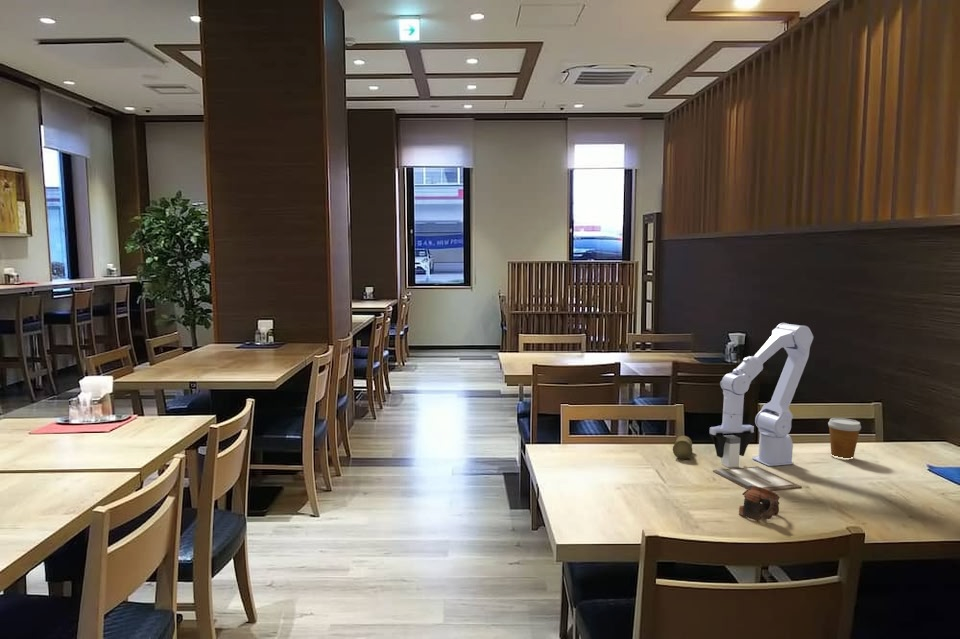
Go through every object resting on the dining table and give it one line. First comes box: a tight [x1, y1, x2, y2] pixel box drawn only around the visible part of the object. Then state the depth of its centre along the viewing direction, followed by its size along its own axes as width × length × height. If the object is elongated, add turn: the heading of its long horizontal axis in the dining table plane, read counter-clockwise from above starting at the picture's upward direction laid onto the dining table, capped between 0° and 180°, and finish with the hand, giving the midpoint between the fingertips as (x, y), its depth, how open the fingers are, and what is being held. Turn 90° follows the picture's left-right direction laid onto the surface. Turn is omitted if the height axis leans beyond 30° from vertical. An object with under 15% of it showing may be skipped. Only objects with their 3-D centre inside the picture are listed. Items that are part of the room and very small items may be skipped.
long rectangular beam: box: [720, 434, 741, 469], centre depth 203 cm, size 4×4×9 cm
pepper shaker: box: [672, 435, 693, 461], centre depth 213 cm, size 6×6×11 cm
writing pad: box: [712, 465, 802, 492], centre depth 191 cm, size 16×18×1 cm
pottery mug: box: [738, 486, 781, 522], centre depth 163 cm, size 12×10×8 cm
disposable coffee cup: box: [827, 417, 862, 458], centre depth 214 cm, size 10×10×12 cm
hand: (730, 455), depth 203 cm, fingers open, 7 cm apart
